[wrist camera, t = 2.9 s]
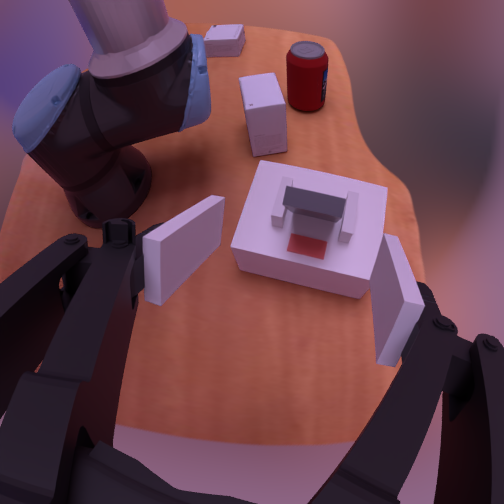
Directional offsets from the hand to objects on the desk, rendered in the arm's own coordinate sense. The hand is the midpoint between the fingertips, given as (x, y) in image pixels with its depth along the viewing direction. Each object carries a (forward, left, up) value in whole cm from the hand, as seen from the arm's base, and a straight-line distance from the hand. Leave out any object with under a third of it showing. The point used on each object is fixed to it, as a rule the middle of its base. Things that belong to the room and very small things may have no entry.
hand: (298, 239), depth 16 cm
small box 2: (+14, +26, -25) cm, 39 cm away
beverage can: (+25, +29, -25) cm, 46 cm away
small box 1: (+24, +56, -25) cm, 66 cm away
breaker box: (+8, +7, -25) cm, 27 cm away
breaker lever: (+8, +7, -16) cm, 19 cm away
